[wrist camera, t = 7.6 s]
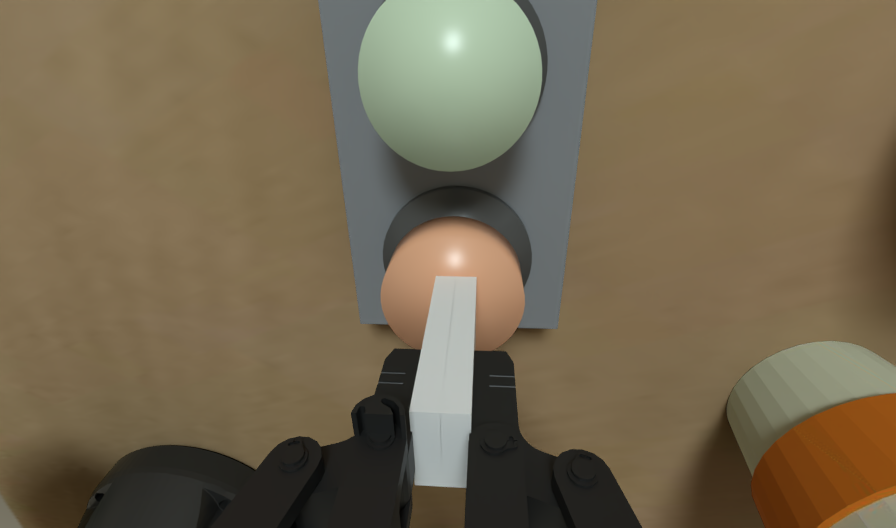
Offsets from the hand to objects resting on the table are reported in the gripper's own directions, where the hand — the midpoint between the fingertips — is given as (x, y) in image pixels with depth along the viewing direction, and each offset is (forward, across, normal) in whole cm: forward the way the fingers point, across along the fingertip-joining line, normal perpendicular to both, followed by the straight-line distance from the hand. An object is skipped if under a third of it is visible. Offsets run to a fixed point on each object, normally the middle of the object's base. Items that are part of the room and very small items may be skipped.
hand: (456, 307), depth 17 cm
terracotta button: (+3, 0, 0) cm, 3 cm away
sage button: (+2, 0, +8) cm, 8 cm away
